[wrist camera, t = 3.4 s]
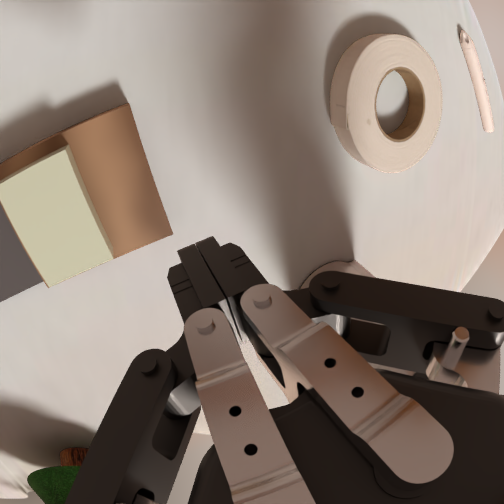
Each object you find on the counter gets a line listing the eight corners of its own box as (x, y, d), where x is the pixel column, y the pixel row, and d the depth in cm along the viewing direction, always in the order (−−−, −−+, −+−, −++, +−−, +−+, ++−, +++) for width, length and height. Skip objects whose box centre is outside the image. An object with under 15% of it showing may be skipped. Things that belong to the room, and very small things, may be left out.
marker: (452, 31, 28) (466, 33, 26) (458, 26, 28) (472, 27, 26) (481, 130, 39) (492, 134, 38) (486, 123, 39) (497, 127, 37)
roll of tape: (400, 15, 25) (420, 15, 23) (436, 123, 35) (453, 129, 33) (301, 72, 25) (319, 74, 23) (359, 191, 35) (376, 201, 33)
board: (128, 102, 21) (129, 104, 19) (168, 223, 27) (173, 234, 26) (-6, 166, 18) (-14, 174, 17) (50, 275, 25) (48, 288, 23)
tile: (68, 144, 19) (65, 149, 18) (112, 247, 24) (113, 258, 23) (1, 179, 18) (-6, 187, 16) (51, 274, 23) (49, 287, 22)
